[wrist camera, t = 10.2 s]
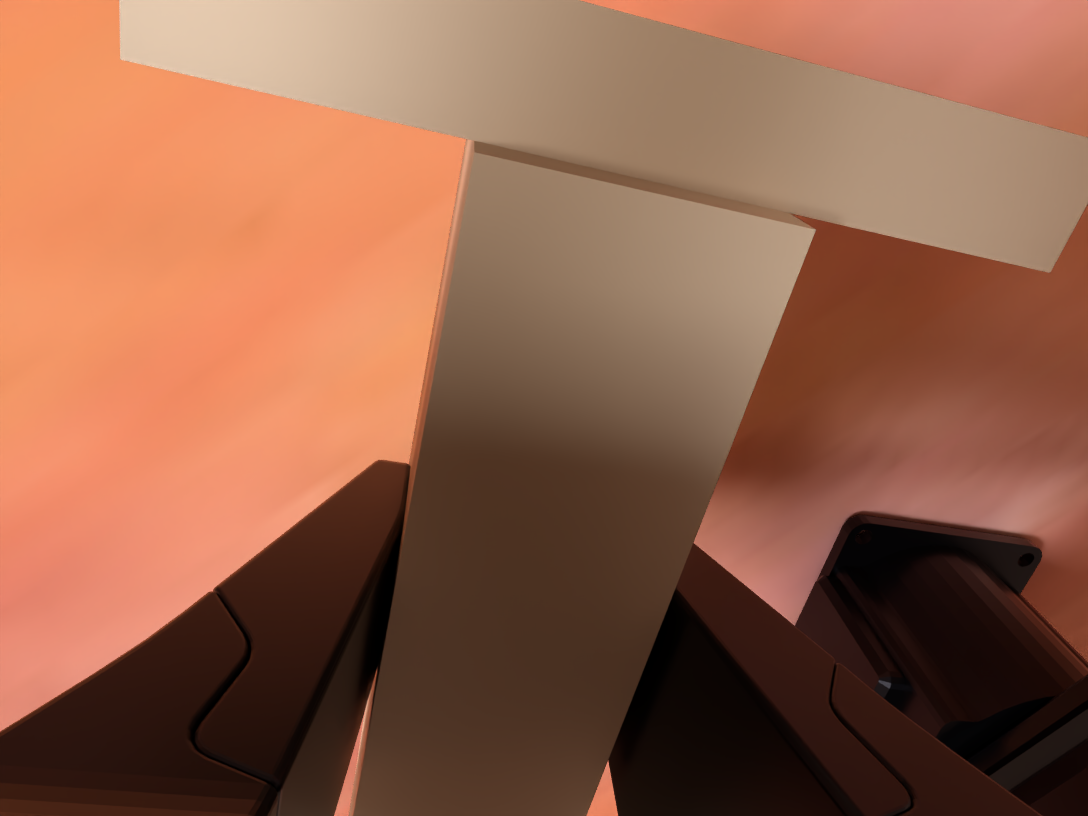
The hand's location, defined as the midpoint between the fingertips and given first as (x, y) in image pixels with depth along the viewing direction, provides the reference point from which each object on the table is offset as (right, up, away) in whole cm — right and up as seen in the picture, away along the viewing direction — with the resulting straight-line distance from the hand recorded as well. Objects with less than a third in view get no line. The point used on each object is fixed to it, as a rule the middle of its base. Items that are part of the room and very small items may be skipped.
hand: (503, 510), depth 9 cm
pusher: (0, +1, +1) cm, 1 cm away
